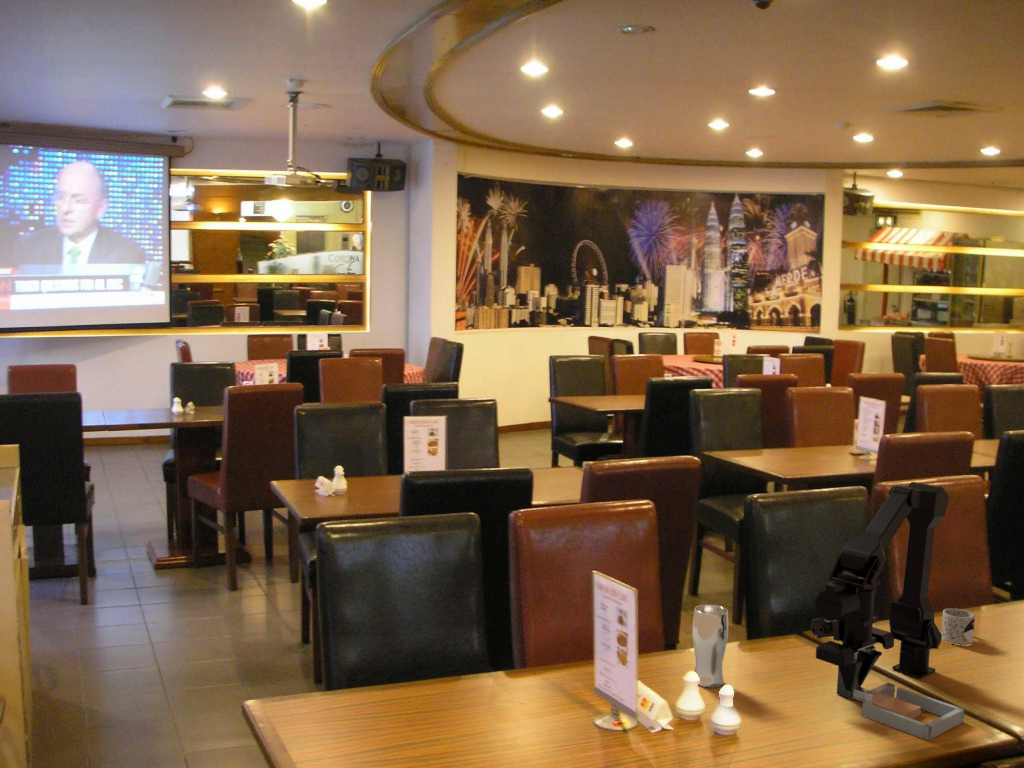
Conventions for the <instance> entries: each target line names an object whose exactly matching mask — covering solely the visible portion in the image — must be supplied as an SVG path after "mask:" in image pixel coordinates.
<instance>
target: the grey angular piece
mask: <svg viewBox="0 0 1024 768" xmlns="http://www.w3.org/2000/svg"><path fill="white" fill-rule="evenodd" d="M837 667H838V666H837ZM837 669H838V671H837V684H836V694H837V695H839V696H841V697H844V698H847V699H849V698H850V700H851V699H852V698H853V700H855V701H858V702H860V701H861V702H860V703H862V704H863V703H865V702H867V703H869V704H872V705H875V704H877V703H879V702H881V701H883V700H886V699H888V698H890V697H894V698H895V694H896V690H895V689H896V685H895V683H894V684H893V683H891V682H885V683H884V684H881V685H878V686H877V687H874V688H872V689H868V688H864V687H862V686H861V687H860V686H859V685H860V671H861V667H860V670H859V672H858V675H857V678H856V681H855V683H854V686H853V688H852V690H851V691H848V690H846V689H845V686H844V683H843V679H842V676H841V672H840V669H839V667H838V668H837Z"/></svg>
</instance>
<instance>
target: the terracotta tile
mask: <svg viewBox="0 0 1024 768" xmlns="http://www.w3.org/2000/svg"><path fill="white" fill-rule="evenodd" d="M875 706H878V707H881V708H883V709H886V710H889V711H892V712H894V713H897V714H900V715H903V716H905V717H908V718H911V719H915V718H917V717H919V716H921V714H922V712H921V711H922V709H921V707H920V706H917V705H914V704H911V703H908V702H905V701H903V700H900V699H897V698H896V697H895V696H894V697H890V698H888V699H886V700H883V701H881V702H879V703H877V704H875Z"/></svg>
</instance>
